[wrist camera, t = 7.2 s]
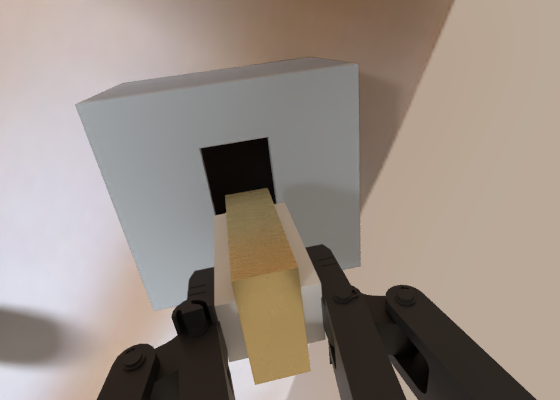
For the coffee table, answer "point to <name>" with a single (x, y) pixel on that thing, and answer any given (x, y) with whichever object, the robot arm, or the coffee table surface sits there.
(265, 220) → the block
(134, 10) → the coffee table surface
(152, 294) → the box
